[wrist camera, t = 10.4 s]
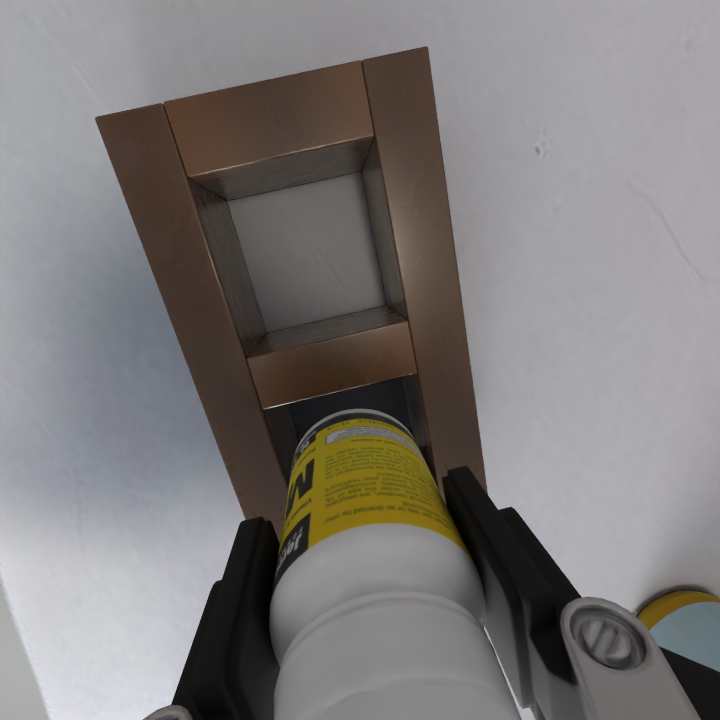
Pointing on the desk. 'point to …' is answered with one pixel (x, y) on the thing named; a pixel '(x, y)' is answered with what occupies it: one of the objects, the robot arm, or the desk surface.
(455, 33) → the desk surface
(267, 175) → the holder
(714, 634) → the bottle
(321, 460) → the supplement bottle
